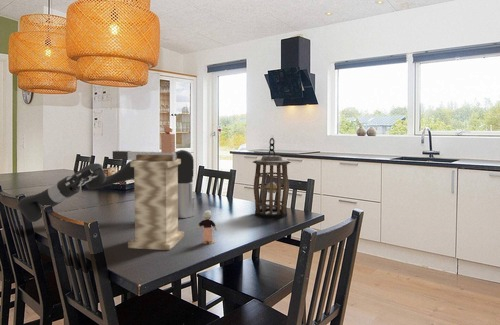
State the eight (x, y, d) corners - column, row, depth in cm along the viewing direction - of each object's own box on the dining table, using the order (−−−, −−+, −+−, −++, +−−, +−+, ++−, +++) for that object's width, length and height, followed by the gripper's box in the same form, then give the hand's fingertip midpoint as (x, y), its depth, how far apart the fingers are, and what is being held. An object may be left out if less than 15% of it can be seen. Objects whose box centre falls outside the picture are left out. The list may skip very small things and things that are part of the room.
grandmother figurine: (217, 241, 148) (217, 209, 147) (216, 244, 145) (216, 211, 143) (197, 241, 148) (197, 209, 147) (196, 244, 144) (196, 211, 143)
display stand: (127, 247, 139) (126, 156, 136) (146, 234, 156) (145, 152, 153) (169, 250, 137) (169, 156, 134) (184, 236, 155) (183, 153, 152)
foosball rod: (112, 159, 144) (111, 124, 143) (117, 158, 148) (116, 124, 147) (172, 161, 141) (172, 125, 140) (176, 160, 145) (176, 125, 144)
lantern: (297, 215, 195) (298, 138, 191) (271, 221, 182) (272, 138, 178) (270, 209, 209) (271, 137, 205) (244, 214, 196) (245, 137, 192)
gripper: (78, 194, 156) (110, 176, 154) (57, 201, 142) (91, 181, 140) (69, 179, 156) (101, 160, 154) (47, 183, 142) (82, 163, 140)
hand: (96, 170), depth 147 cm, fingers open, 8 cm apart
